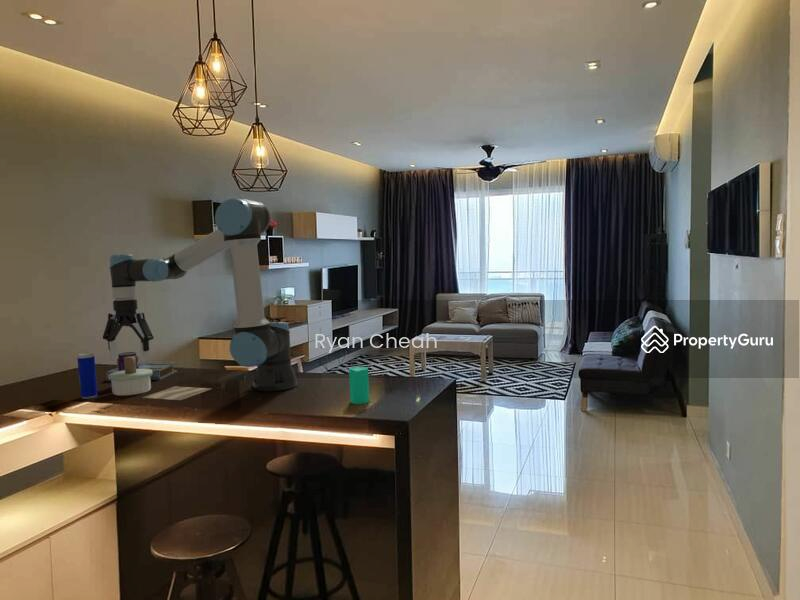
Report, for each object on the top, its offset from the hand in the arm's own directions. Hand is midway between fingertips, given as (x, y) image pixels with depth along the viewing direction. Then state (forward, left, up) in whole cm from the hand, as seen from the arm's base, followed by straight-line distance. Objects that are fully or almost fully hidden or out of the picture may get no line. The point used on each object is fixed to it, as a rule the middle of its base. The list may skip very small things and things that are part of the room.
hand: (129, 360), depth 208 cm
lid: (0, 0, -6) cm, 6 cm away
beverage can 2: (+11, -10, -12) cm, 19 cm away
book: (+18, -24, -12) cm, 32 cm away
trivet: (-19, -1, -12) cm, 22 cm away
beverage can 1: (+11, +8, -12) cm, 18 cm away
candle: (-84, -7, -12) cm, 85 cm away
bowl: (0, 0, -12) cm, 12 cm away
